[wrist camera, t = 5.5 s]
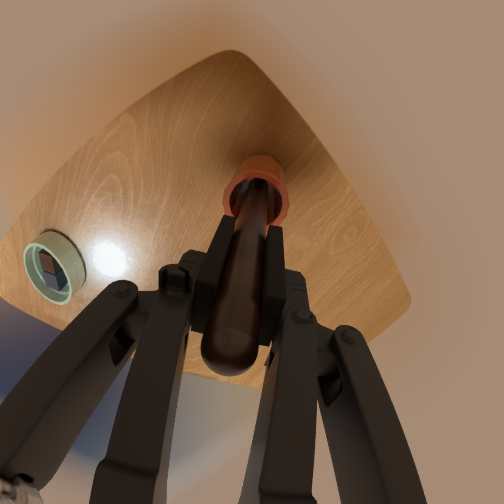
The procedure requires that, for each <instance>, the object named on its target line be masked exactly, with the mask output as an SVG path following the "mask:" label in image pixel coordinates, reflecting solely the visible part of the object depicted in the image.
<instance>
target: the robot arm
mask: <svg viewBox="0 0 504 504" xmlns="http://www.w3.org/2000/svg"><path fill="white" fill-rule="evenodd" d="M236 218H237V217H233V216H228V215H223V217H222V220H221V222H220V224H219V226H218V229H217V231H216V233H215V235H214V238H213V240H212V242H211V244H210V247H209V249H208V251H207V253H204V252H200V251H195V250H189V251H187V252H186V253H184V254H183V256H182V258H181V259H180V261H179V263H178V264H169V265H166V266H164V267H162V268H161V269H160V270H159V289H158V290H155V291H138V287H137V286H136V284H134V283H133V282H131V281H127V280H118V281H115V282H112V283H111V284H109V285H108V286H107V287H106V288H105V289H104V290H103V291H102V292H101V293H100V294H99V295H98V296H97V297H96V298H95V299H94V300H93V301H92V302H91V303H90V304H89V305H88V306H87V307H86V308H85V309H84V310H83V311H82V312H81V313H80V314H79V315H78V316H77V317H76V318H75V319H74V320H73V321H72V322H71V323H70V324H69V325H68V326H67V327H66V328H65V329H64V330H63V331H62V333H61V334H60V335H59V336H58V337H57V338H56V339H55V340H54V341H53V342H52V343H51V345H50V346H49V347H48V348H47V349H46V350H45V351H44V352H43V354H42V355H41V356H40V357H39V358H38V359H37V360H36V362H35V363H34V364H33V365H32V366H31V367H30V369H29V370H28V371H27V372H26V373H25V375H24V376H23V377H22V378H21V380H20V381H19V382H18V383H17V384H16V386H15V387H14V388H13V389H12V391H11V392H10V393H9V394H8V396H7V397H6V398H5V400H4V401H3V402H2V404H1V405H0V504H44V503H43V500H42V498H41V496H40V494H39V492H38V491H40V490H41V489H42V488H43V487H44V486H45V485H46V484H47V483H48V482H49V481H50V480H51V479H52V477H53V476H54V474H55V473H56V472H57V470H58V468H59V466H60V465H61V463H62V461H63V460H64V458H65V457H66V455H67V453H68V451H69V450H70V448H71V447H72V445H73V443H74V442H75V440H76V438H77V437H78V435H79V434H80V432H81V430H82V429H83V427H84V426H85V424H86V422H87V421H88V419H89V418H90V416H91V415H92V413H93V412H94V410H95V409H96V407H97V405H98V404H99V402H100V400H101V399H102V398H103V396H104V395H105V393H106V392H107V390H108V389H109V387H110V386H111V384H112V383H113V381H114V380H115V378H116V377H117V375H118V374H119V372H120V371H121V369H122V368H123V366H124V365H125V364H126V362H127V361H128V359H129V358H130V356H131V355H132V353H133V352H134V351H135V349H136V348H137V349H136V352H135V355H134V358H133V361H132V364H131V367H130V370H129V373H128V376H127V379H126V383H125V386H124V389H123V393H122V396H121V400H120V403H119V407H118V410H117V414H116V417H115V421H114V425H113V429H112V433H111V437H110V441H109V446H108V449H107V453H106V456H105V458H104V459H103V460H102V461H101V462H99V464H98V466H97V468H96V471H95V475H94V480H93V485H92V490H91V496H90V502H89V504H166V498H167V477H168V467H169V459H170V451H171V443H172V436H173V429H174V422H175V415H176V408H177V401H178V395H179V389H180V383H181V376H182V371H183V366H184V360H185V354H186V349H187V343H188V337H189V329H190V326H191V331H194V332H199V333H204V330H205V326H206V323H207V319H208V316H209V312H210V309H211V307H212V304H213V301H214V297H215V294H216V291H217V287H218V284H219V280H220V277H221V274H222V270H223V267H224V263H225V260H226V257H227V253H228V250H229V247H230V243H231V240H232V237H233V234H234V229H235V223H236ZM260 317H261V320H260V334H259V345H263V346H268V347H269V345H270V343H271V340H272V347H271V350H270V352H269V355H268V357H267V360H266V362H265V365H264V366H266V372H265V377H264V383H263V388H262V394H261V399H260V405H259V410H258V416H257V421H256V425H255V430H254V435H253V440H252V445H251V450H250V455H249V460H248V464H247V469H246V473H245V478H244V483H243V487H242V491H241V496H240V499H239V502H238V504H317V501H316V500H315V498H314V497H313V496H312V478H313V468H314V454H315V437H316V416H317V400H318V403H319V408H320V412H321V416H322V420H323V424H324V428H325V433H326V437H327V441H328V446H329V450H330V454H331V459H332V463H333V467H334V472H335V477H336V481H337V486H338V491H339V495H340V500H341V504H427V502H426V498H425V495H424V492H423V488H422V485H421V482H420V478H419V475H418V473H417V470H416V466H415V463H414V460H413V457H412V454H411V451H410V449H409V446H408V443H407V440H406V438H405V435H404V432H403V429H402V427H401V424H400V421H399V419H398V416H397V414H396V411H395V409H394V406H393V403H392V401H391V399H390V396H389V394H388V391H387V389H386V387H385V384H384V382H383V379H382V377H381V375H380V373H379V370H378V368H377V366H376V363H375V361H374V359H373V356H372V354H371V352H370V350H369V348H368V346H367V343H366V341H365V339H364V337H363V335H362V334H361V332H360V331H358V330H357V329H356V328H354V327H352V326H348V325H340V326H338V327H337V328H336V329H335V331H334V330H331V329H329V328H326V327H324V326H322V325H320V324H319V323H317V320H316V316H315V315H314V314H313V313H312V312H311V311H310V308H309V301H308V295H307V288H306V282H305V278H304V277H303V275H302V274H301V273H300V272H297V271H293V270H288V269H285V261H284V245H283V231H282V227H279V226H275V225H270V224H269V228H268V232H267V236H266V240H265V254H264V270H263V285H262V300H261V314H260Z"/></svg>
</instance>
